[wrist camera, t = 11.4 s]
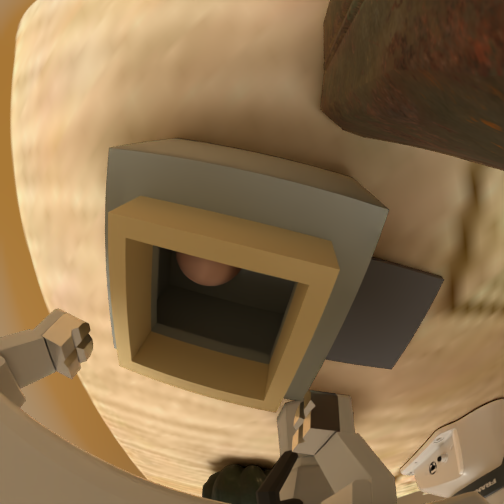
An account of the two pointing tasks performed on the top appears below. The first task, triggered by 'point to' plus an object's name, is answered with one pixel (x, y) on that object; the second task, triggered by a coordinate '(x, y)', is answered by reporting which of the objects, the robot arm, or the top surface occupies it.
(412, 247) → the top surface
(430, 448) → the robot arm
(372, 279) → the mat
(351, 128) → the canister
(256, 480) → the squash
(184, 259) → the bead
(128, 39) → the top surface
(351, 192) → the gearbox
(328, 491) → the coffee maker
